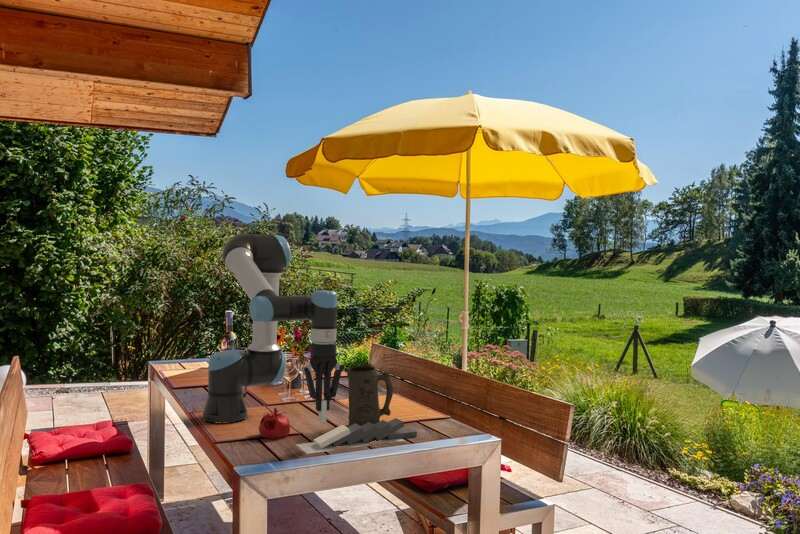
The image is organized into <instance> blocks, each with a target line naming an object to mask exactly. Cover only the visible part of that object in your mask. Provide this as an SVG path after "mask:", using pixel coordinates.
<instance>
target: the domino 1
mask: <svg viewBox="0 0 800 534" xmlns="http://www.w3.org/2000/svg"><path fill="white" fill-rule="evenodd" d="M348 434H350V430H349V428H347V426H346V425H344V424H341V425H339V426H337V427H335V428H333V429H332V430H329V431H327V432H325V433H323V434H322V435H319V436H318V437H315V438H314V439H313V442H315V444H316V445H317V446H318V447H319V448H321V449H322V448H324V447H325V446H327V445H329V444H331V443H333V442H335V441H337V440H339V439H341V438H343V437H344V436H346V435H348Z"/></svg>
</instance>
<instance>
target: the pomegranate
mask: <svg viewBox="0 0 800 534" xmlns="http://www.w3.org/2000/svg"><path fill="white" fill-rule="evenodd" d="M279 412H280V410H279V409H278V408H277V407H274V408H273V411H272V410H269V412H264V413H263V416H262V418H261V420H260V423H259V426H258V431H259V436H261V437H262V438H264V439H268V440H278V439H279V440H280V439H282V438H286V437H287V436H289V434H290V430H291V424H290V419H289V418H288V417H287V416H286V415H284V414H286V412H285V411H284V412H280V413H279Z"/></svg>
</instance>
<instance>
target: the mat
mask: <svg viewBox="0 0 800 534" xmlns="http://www.w3.org/2000/svg"><path fill="white" fill-rule="evenodd" d="M381 440H382V441H389V443H388V444H391V443H397V442H405V441H406V440H405V439H404V438H401V439H394V440H388V439H386V438H383V439H381ZM372 441H375V439H371V440H369V441H368V442H366V443H363V442H361V441H360V440H358V441H356V442H355V443H353V444H351V445H348V444H346V443H345V442H344V443H342V444H340V445H338V446H342V447H343V446H346V447H347V446H349V448H348V449H353V448H361V447H369V443H370V442H372ZM295 445H296V446H297V447H298V448H299V449H301V451H303V452H304V453H305V454H307V455H308V454H309V455H310V454H316V453H323V452H324V453H325V452H332V450H333V451H335V450H334V449H335V448H337V447H335V448H334V446H332V445H331V444H329V445H327V446H325V447H324V448H322V449H321V448H319V447H318V446H317V445H316V444H315V442H314V441H312V442H303V443H296V444H295ZM350 447H351V448H350Z"/></svg>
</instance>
